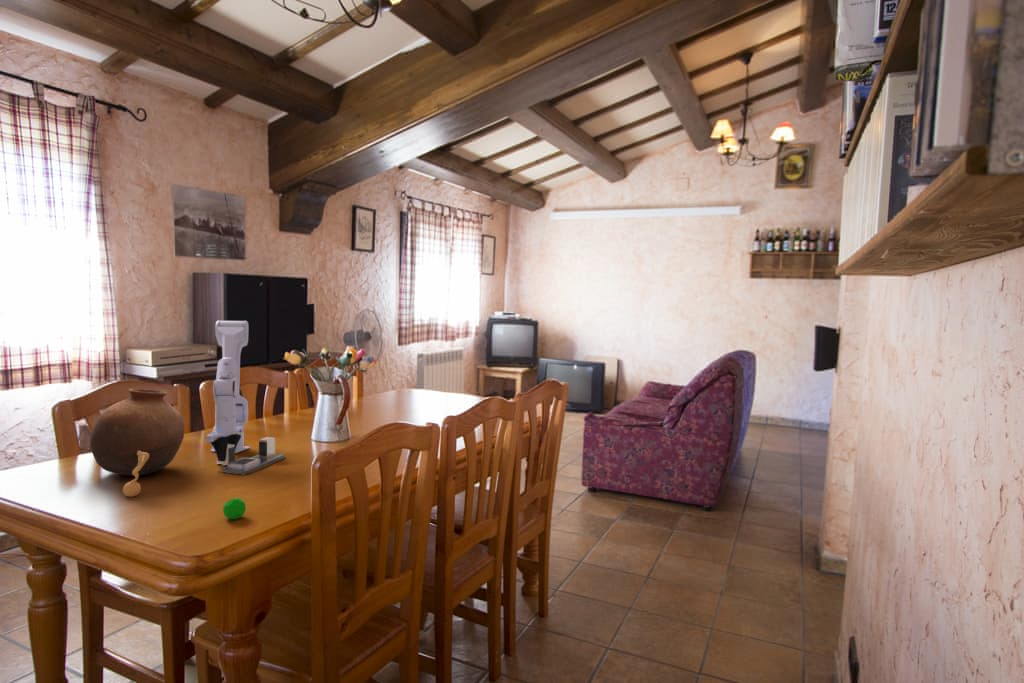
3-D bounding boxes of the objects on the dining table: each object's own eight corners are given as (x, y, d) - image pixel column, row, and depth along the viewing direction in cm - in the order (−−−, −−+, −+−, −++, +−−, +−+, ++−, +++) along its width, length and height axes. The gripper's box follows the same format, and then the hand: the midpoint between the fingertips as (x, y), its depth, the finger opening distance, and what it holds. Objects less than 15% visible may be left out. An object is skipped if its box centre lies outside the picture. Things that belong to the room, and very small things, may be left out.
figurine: (124, 492, 160) (123, 448, 159) (150, 489, 162) (150, 446, 161) (121, 502, 152) (120, 456, 151) (149, 499, 155) (148, 453, 154)
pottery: (73, 483, 165) (70, 394, 163) (129, 460, 188) (127, 381, 186) (154, 487, 165) (153, 397, 163) (200, 463, 188) (199, 384, 186)
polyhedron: (235, 523, 141) (235, 503, 141) (218, 520, 143) (218, 501, 142) (250, 516, 146) (250, 496, 146) (233, 513, 147) (233, 494, 147)
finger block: (223, 462, 190) (223, 443, 189) (235, 463, 189) (235, 444, 188) (216, 464, 187) (216, 445, 187) (229, 465, 186) (228, 446, 186)
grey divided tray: (221, 472, 179) (221, 449, 179) (264, 455, 198) (264, 434, 198) (244, 475, 177) (244, 452, 177) (285, 457, 197) (285, 436, 196)
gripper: (219, 422, 179) (220, 466, 180) (252, 413, 193) (252, 454, 194) (199, 420, 181) (200, 464, 182) (233, 411, 195) (233, 452, 196)
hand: (225, 459), depth 188 cm, fingers closed on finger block, 3 cm apart
